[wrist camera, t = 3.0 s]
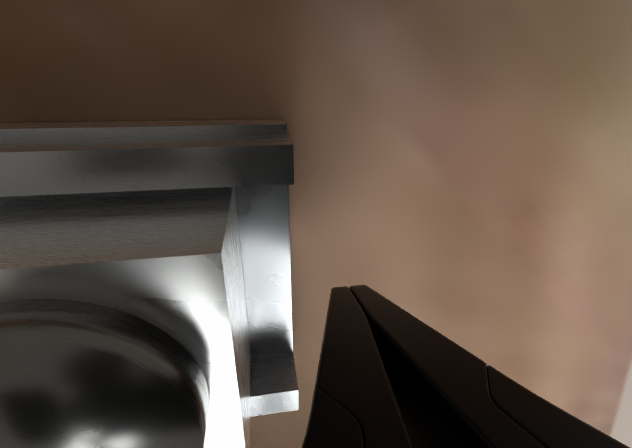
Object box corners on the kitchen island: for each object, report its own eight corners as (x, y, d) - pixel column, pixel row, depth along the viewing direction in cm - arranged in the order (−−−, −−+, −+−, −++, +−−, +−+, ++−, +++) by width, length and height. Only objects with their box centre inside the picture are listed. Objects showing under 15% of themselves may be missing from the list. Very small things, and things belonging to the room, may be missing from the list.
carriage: (233, 182, 8) (215, 284, 4) (250, 352, 10) (248, 523, 6) (-25, 193, 7) (-351, 333, 3) (54, 376, 9) (-86, 588, 6)
